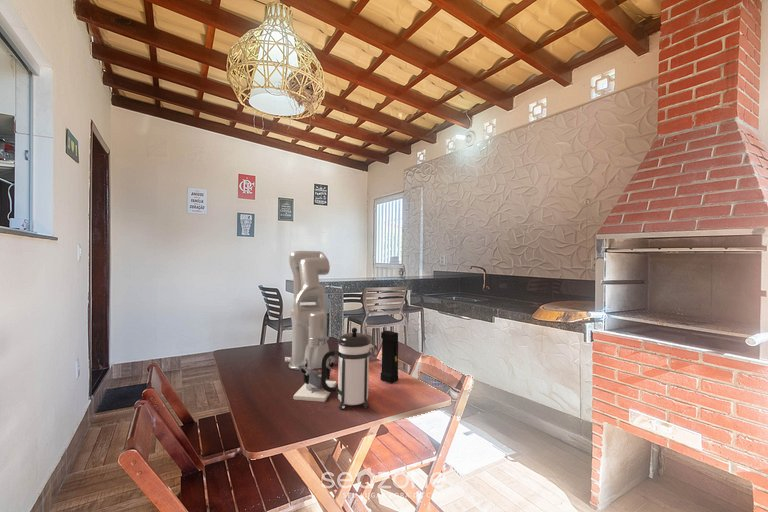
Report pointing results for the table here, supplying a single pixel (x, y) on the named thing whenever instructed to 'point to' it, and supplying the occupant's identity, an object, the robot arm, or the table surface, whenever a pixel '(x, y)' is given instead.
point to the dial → (314, 381)
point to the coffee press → (350, 369)
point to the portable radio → (389, 356)
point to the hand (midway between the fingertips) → (316, 380)
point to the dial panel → (313, 393)
